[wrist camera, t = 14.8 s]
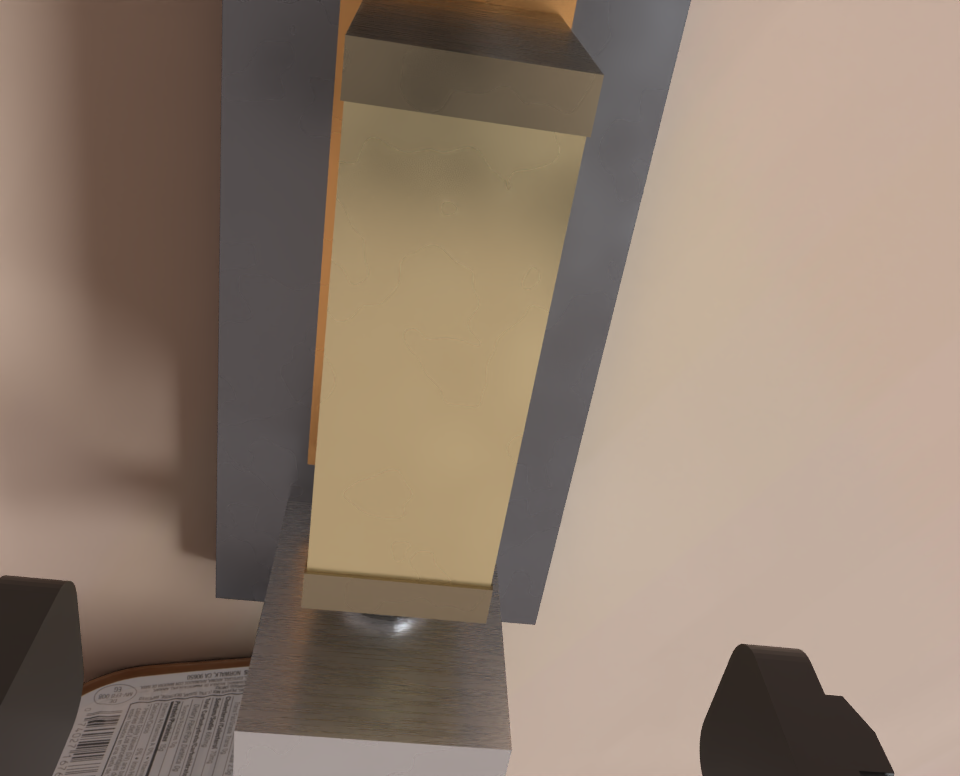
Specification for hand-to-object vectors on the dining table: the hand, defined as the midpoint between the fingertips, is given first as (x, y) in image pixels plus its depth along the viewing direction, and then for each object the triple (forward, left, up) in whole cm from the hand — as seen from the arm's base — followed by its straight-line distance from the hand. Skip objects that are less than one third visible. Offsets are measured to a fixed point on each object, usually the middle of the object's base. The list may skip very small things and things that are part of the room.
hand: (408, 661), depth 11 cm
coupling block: (0, 0, -13) cm, 13 cm away
